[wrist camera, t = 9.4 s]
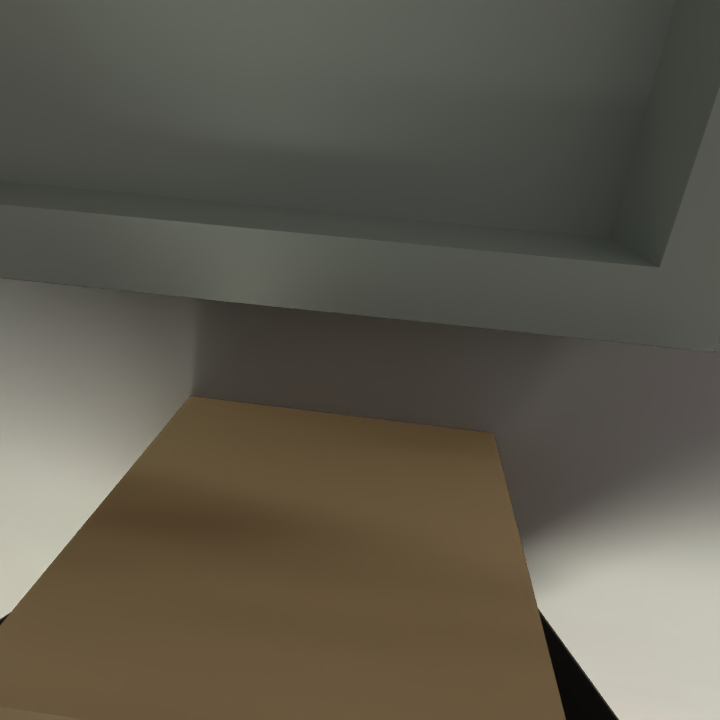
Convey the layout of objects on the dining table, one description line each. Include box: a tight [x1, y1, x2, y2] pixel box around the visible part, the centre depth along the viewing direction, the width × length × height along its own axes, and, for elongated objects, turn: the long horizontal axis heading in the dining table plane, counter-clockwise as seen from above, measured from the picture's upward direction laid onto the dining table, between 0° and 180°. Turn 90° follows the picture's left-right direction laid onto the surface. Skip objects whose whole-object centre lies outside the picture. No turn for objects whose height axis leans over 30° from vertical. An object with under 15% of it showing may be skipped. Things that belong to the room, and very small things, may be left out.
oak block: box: [0, 396, 566, 720], centre depth 7 cm, size 5×5×5 cm
